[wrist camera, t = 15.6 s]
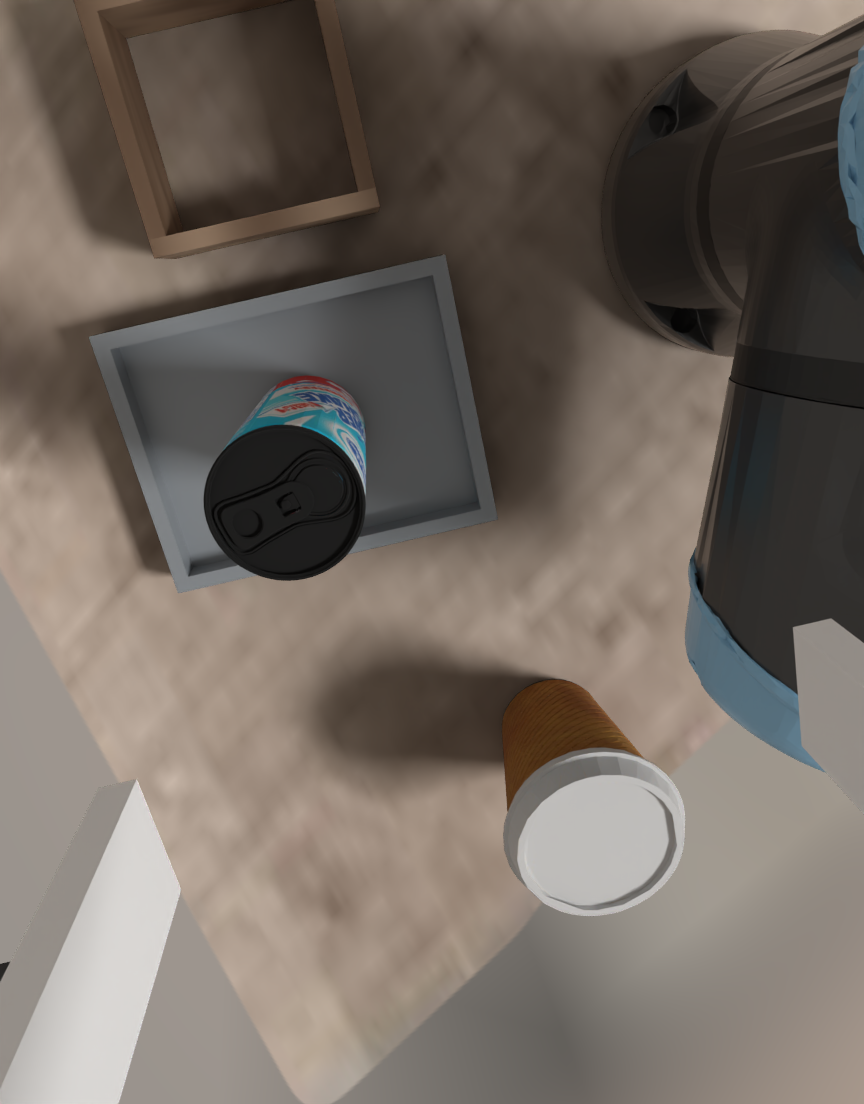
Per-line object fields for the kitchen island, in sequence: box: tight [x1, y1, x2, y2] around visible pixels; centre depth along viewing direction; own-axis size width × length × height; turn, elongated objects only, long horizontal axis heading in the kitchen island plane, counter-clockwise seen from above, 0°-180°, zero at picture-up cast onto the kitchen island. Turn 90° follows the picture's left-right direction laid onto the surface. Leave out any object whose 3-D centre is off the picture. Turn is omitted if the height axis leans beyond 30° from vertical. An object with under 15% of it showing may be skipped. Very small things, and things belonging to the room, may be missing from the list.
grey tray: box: [89, 255, 498, 593], centre depth 44 cm, size 18×14×2 cm
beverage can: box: [203, 375, 366, 581], centre depth 38 cm, size 6×6×15 cm
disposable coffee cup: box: [502, 680, 685, 916], centre depth 47 cm, size 10×10×12 cm
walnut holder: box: [74, 0, 380, 259], centre depth 38 cm, size 11×11×4 cm
